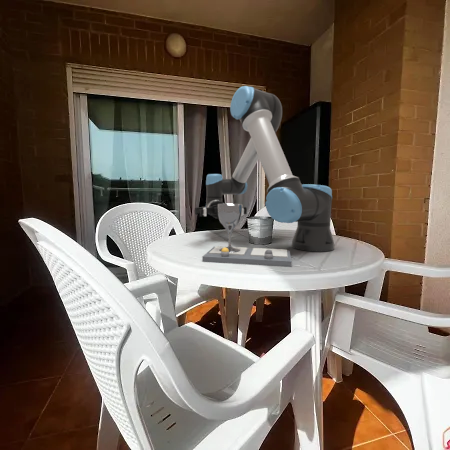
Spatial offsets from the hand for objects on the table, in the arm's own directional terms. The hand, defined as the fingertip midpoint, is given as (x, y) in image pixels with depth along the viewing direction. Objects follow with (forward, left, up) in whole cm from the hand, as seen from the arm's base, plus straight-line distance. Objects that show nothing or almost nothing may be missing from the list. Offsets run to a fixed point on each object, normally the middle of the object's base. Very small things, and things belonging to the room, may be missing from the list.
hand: (224, 212), depth 97 cm
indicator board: (-10, +11, -13) cm, 20 cm away
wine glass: (-4, +10, -12) cm, 16 cm away
